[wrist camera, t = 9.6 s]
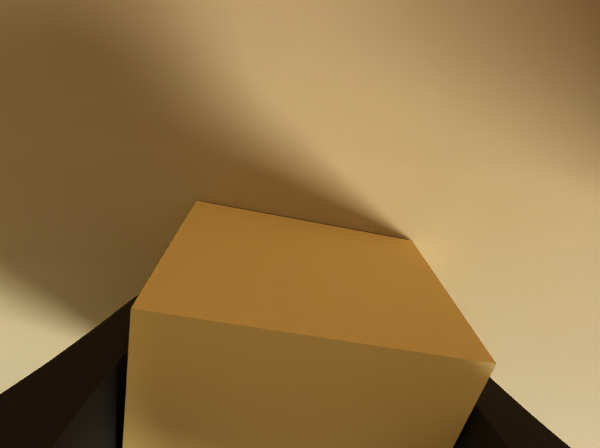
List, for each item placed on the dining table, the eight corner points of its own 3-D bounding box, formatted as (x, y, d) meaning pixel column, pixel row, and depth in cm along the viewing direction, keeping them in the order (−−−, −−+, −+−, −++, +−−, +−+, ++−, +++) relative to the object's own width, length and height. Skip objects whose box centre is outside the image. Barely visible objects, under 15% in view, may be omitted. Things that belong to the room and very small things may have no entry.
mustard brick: (355, 397, 11) (390, 567, 7) (175, 373, 11) (117, 544, 7) (411, 240, 9) (496, 363, 6) (196, 200, 9) (130, 308, 5)
